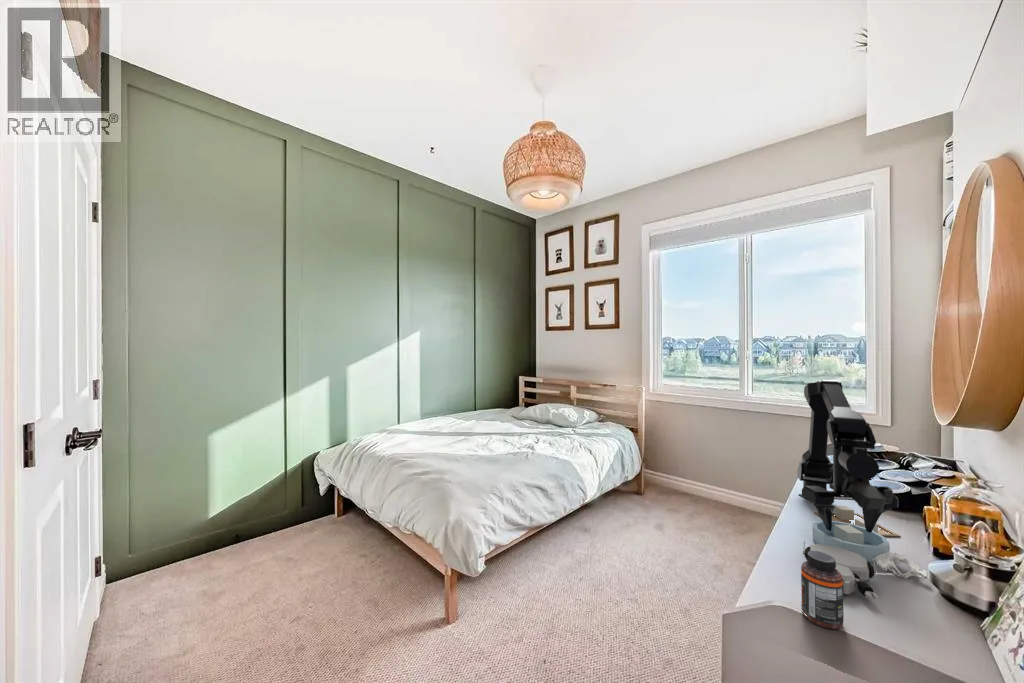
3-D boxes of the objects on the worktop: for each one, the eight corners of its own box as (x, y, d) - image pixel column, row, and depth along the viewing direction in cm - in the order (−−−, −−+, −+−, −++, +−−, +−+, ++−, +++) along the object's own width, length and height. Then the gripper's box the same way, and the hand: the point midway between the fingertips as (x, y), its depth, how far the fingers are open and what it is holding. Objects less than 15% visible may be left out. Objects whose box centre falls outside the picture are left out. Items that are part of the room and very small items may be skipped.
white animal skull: (878, 558, 85) (871, 543, 90) (878, 577, 85) (872, 561, 90) (931, 569, 80) (920, 552, 86) (931, 589, 81) (920, 571, 86)
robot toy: (881, 616, 73) (874, 574, 85) (881, 592, 73) (874, 553, 84) (800, 590, 81) (803, 555, 92) (799, 568, 81) (803, 536, 92)
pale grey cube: (854, 529, 106) (854, 518, 106) (868, 529, 105) (868, 519, 106) (863, 534, 103) (863, 523, 103) (877, 534, 102) (877, 524, 103)
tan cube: (834, 515, 115) (834, 505, 115) (845, 515, 114) (845, 506, 114) (842, 519, 112) (842, 509, 112) (854, 520, 111) (854, 510, 111)
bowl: (800, 533, 104) (800, 519, 104) (856, 535, 103) (856, 521, 103) (840, 561, 90) (839, 545, 90) (905, 564, 89) (905, 548, 89)
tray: (814, 514, 116) (814, 511, 116) (857, 516, 115) (857, 513, 115) (851, 536, 102) (851, 533, 102) (900, 539, 101) (900, 535, 101)
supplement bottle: (802, 604, 75) (801, 544, 75) (843, 617, 71) (842, 554, 71) (800, 620, 70) (799, 556, 70) (844, 636, 66) (843, 568, 67)
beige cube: (834, 540, 99) (834, 524, 99) (849, 541, 98) (849, 525, 99) (847, 549, 94) (847, 532, 94) (863, 550, 94) (863, 533, 94)
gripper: (831, 476, 90) (832, 545, 89) (920, 479, 88) (921, 549, 88) (800, 462, 101) (800, 524, 100) (877, 464, 99) (878, 527, 99)
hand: (848, 531), depth 97 cm, fingers open, 9 cm apart
